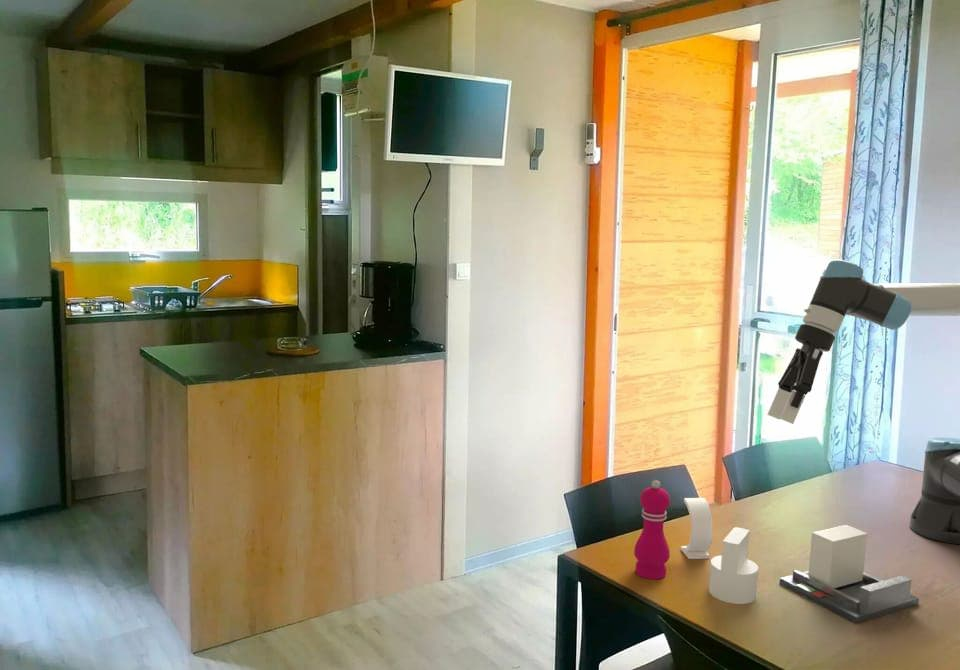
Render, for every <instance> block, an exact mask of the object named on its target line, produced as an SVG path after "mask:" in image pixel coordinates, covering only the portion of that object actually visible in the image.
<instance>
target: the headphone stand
mask: <svg viewBox="0 0 960 670" xmlns="http://www.w3.org/2000/svg"><path fill="white" fill-rule="evenodd" d="M683 503H684V504H685V506H686V508H687V510H688V513H689V520H690V538H689V543H688V545H681V546H680V551H681V552H682V553H683V554H684V555H685V556H686V557H687V559H688V560H697V559H698V560H700V559H701V560H702V559H710V554H709V553H708V551H709V549H710V547H711V545H712V541H713V534H714V526H713V525H714V524H713V517H712V513H711V508H710V506H709V505H710V504H709V503H708V501H707V500H706V498H705V497H684V499H683Z"/></svg>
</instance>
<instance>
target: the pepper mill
mask: <svg viewBox="0 0 960 670" xmlns="http://www.w3.org/2000/svg"><path fill="white" fill-rule="evenodd" d="M639 498H640V499H639V501H640V502H639V503H640V505H641V506H642V509H641V512H642V513H641V517H642V518H643V528H642V531H641V533H640V535H639V537H638V538H637V541H636V542H635V543H636V544H635V546H634V550H633V553H634V556H635V558H636V560H637V561H636V563H635V573H636V574H637V576H639V577H641V578H645V579H647V580H661V579H663V578H665V577H666V575H667V565H666V563H667V562H668V561H669V559H670V557H671V556H670V555H671V554H670V546H669V544H668V542H667V539H666V536H665V533H664V523H665V520H667V518H668V517H667V514H668V513H667V509H668V508H669V507H670V503H671V497H670V495H669V493H668V492H667V491H666V489H664V488H662V487H661V482H660V481H659V480H653V481H651V486H648V487H647V488H645V489H644V490H642V492H641V494H640V497H639Z"/></svg>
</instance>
